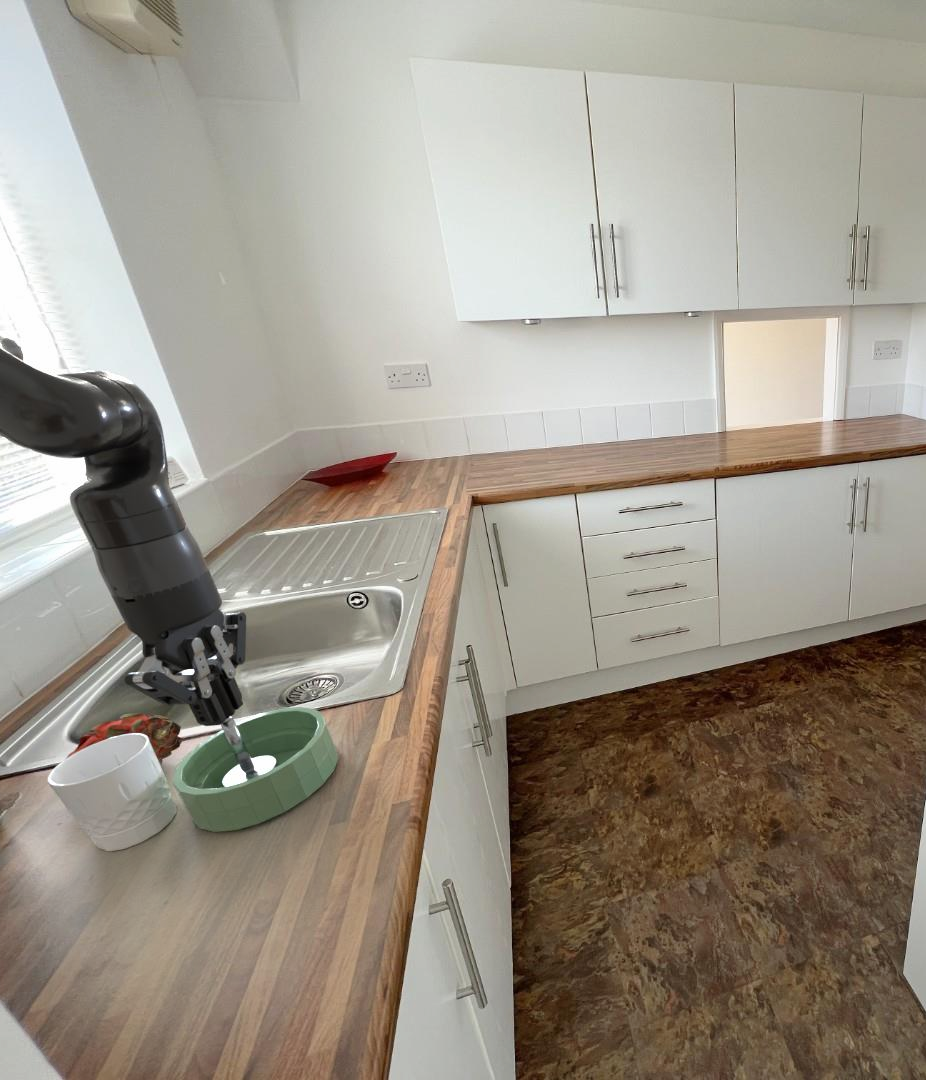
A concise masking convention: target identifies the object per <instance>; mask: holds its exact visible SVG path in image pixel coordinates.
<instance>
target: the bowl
mask: <svg viewBox="0 0 926 1080" xmlns="http://www.w3.org/2000/svg"><path fill="white" fill-rule="evenodd" d="M235 723H236V725H237V727H238V730H239V732H240V734H241V736H242V739H243V741H244V743H245V745H246V747H247V750H248V752H249V754H250V756H251V758H255V757H259V756H272V757H274V758H276V760H277V762H278V765H279V766H277V767H276V768H274V769H272V770H270V771H269V772H267V773H264V774H262V775H259V776H257V777H255V778H252V779H250V780H247V781H245V782H242V783H238V784H235V785H231V786H227V787H223V785H222V781H223V778H224V777H225V775H226V774H227V773H228V772H229V771H230V770H232V769H233V768H234V767H236V766H237V765H239V763H238V761H237V759H236V757H235V755H234V753H233V750H232V748H231V746H230V744H229V742H228V740H227V737H226V735H225V733H224V731H223V729H221V730H220V731H218V732H216V733H215V734H213V735H211V736H210V737H208V738H207V739H205V740H204V741H202V742H201V743H199V744H198V745H196V747H194V748H193V749H192V750H191V751H190V752H189V753H187V755H185V756H184V757H183V758H182V759H181V760H180V762H179V764H178V765H177V767H176V768H175V769H174V771H173V777H172V786H173V788H174V790H175V791H176V793H177V795H178V797H179V799H180V801H181V803H182V804H183V807H184V809H185V811H186V812H187V814H188V816H189V818H190V820H191V821H192V822H193V824H194V825H195V826H196V827H197V828H198V829H201V830H205V831H209V832H212V833H216V832H217V833H218V832H228V831H229V832H230V831H238V830H240V829H241V830H242V829H244V828H248V827H252V826H256V825H259V824H261V823H264V822H266V821H268V820H271V819H273V818H275V817H277V816H279V815H282V814H283V813H285V812H287V811H289V810H290V809H292V808H294V807H295V806H297V805H299V804H300V803H301V802H303V801H305V800H307V799H308V798H309V797H311V795H312V794H314V793H315V792H316V791H317V790H318V789H320V787H322V786H323V785H324V784H325V783H326V781H327V780H328V779H329V778H330V777H331V775H332V773H333V772H334V771H335V769H336V765H337V763H338V760H339V754H338V753H339V752H338V750H337V747H336V744H335V741H334V738H333V735H332V734H331V731H330V728H329V726H328V723H327V721H326V717H325V715H324V714H323V713H321V712H320V711H319V710H317V709H315V708H309V707H303V706H296V707H295V706H294V707H282V708H277V709H275V710H273V709H272V710H269V711H265V712H261V713H258V714H256V715H253V716H251V717H248V718H244V719H242V720H239V721H237V722H235Z"/></svg>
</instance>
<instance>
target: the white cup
mask: <svg viewBox="0 0 926 1080" xmlns="http://www.w3.org/2000/svg"><path fill="white" fill-rule="evenodd" d="M167 779H168V778H167V777H166V775H165V773H164V769H163V767H162V765H161V764H160V763H159V761H158V759H157V756H156V754H155V752H154V750H153V747H152V745H151V743H150V740H149V738H148V737H147V736H146V735H144V734H139V733H133V734H125V735H120V736H116V737H112V738H109V739H106V740H103V741H100V742H98V743H95V744H93V745H90V746H88V747H86V748H84V749H82V750H80V751H78V752H76V753H75V754H73V755H71V756H70V757H68V758H66V757H65V760H62V761H61V762H60V763H58V764H57V765H56V766H55V767H54V768H53V769H52V770H51V771H50V772H49V774H48V775H47V778H46V782H47V783H48V785H49V786H50V788H51V789H52V790H53V792H54V794H56V795H57V797H58V799H59V800H60V801H61V803H62V804H63V805H64V806H65V808H66V809H67V811H68V812H69V813H70V815H71V816H72V817H73V818H74V819H75V821H76V822H77V823H78V825H79V826H80V828H82V830H84V832H86V833H87V834H88V836H89V837H90V839H91V840H92V841H93V843H94V844H95V845H96V847H97V848H98V849H99V850H102V851H104V852H115V851H121V850H125V849H128V848H131V847H133V846H136V845H139V844H141V843H143V842H145V841H146V840H148V839H150V838H151V837H154V836H155V835H156V834H158V833H159V832H161V831H162V830H163V829H164V828H166V827H167V826H168V825H169V824H170V823H171V822H172V821H173V819H174V818H175V816H176V814H177V813H178V809H177V804H176V802H175V800H174V798H173V796H172V793H171V787H170V785H169V783H168V780H167Z"/></svg>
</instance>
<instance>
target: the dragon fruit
mask: <svg viewBox="0 0 926 1080" xmlns="http://www.w3.org/2000/svg"><path fill="white" fill-rule="evenodd" d="M118 719H119V720H107V721H103V722H101V723H99V724H97V725H95V726H93V727H92V728H91V729H89V733H87V734H85V735H82V736H81V737H80V738H79V740H78V741H79V743H78V744H77V746H76V747H75V749H74V750H73V751H72V752H70V753H69V754H68V755H67V756H66V757H65V759H66V758H68V757H70V756H71V755H73V754H75V753H76V752H78V751H80V750H82V749H84V748H86V747H88V746H90V745H93V744H95V743H98V742H100V741H103V740H106V739H109V738H112V737H116V736H120V735H125V734H133V733H139V734H144V735H146V736H147V737H148V738H149V740H150V743H151V745H152V747H153V750H154V752H155V754H156V756H157V759H158V761H159V763H160V765H161V764H162V763H163V759H166V758H169V757H170V756H171V755H172V754H173V753H172V752H173V751H176V750H177V749H179V748H180V747H181V744H182V743H183V740H184V738H182V737H180V736H179V735H180V733H181V729H182V726H181V725H179V724H178V723H177V722H175V721H171V719H170V718H168V717H167V716H162V715H157V714H149V715H148V716H146V715H145V714H144V713H125V714H123V715H121V716H119V717H118ZM65 759H64V760H65ZM64 760H63V761H64Z"/></svg>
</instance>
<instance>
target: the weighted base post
mask: <svg viewBox="0 0 926 1080" xmlns="http://www.w3.org/2000/svg"><path fill="white" fill-rule="evenodd" d="M207 677H208V680H209V683H210V686H211V689H212V693H215V695H216V697H217V699H218V701H219V703H220V706H221V708H222V710H223V712H224V714H225V716H226V720H225V721H224V722H223V723H222V724H220V725H219V726H220V727H221V730H223V731H224V733H225V735H226V737H227V740H228V742H229V744H230V746H231V748H232V750H233V753H234V755H235V757H236V759H237V761H238V763H239V765H237V766H236V767H234V768H233V769H232V770H230V771H229V772H228V773H227V774H226V775H225V777H224V778H223V781H222V785H223V787H227V786H231V785H235V784H238V783H242V782H245V781H247V780H250V779H252V778H255V777H257V776H259V775H262V774H264V773H267V772H269V771H270V770H272V769H274V768H276V767H277V766H279V765H278V762H277V760H276V758H274V757H272V756H259V757H255V758H251V756H250V754H249V752H248V750H247V747H246V745H245V743H244V741H243V739H242V736H241V734H240V732H239V730H238V727H237V725H236V723H237V722H236V721H235V719H234V715H235V714H236V710H235V709H234V707H233V705H232V703H231V700H230V698H229V696H228V694H227V692H226V689H225V687H224V685H223V683H222V680H221V678H220V676H219V674H217V673H214V674H209V675H208V676H207Z"/></svg>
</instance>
